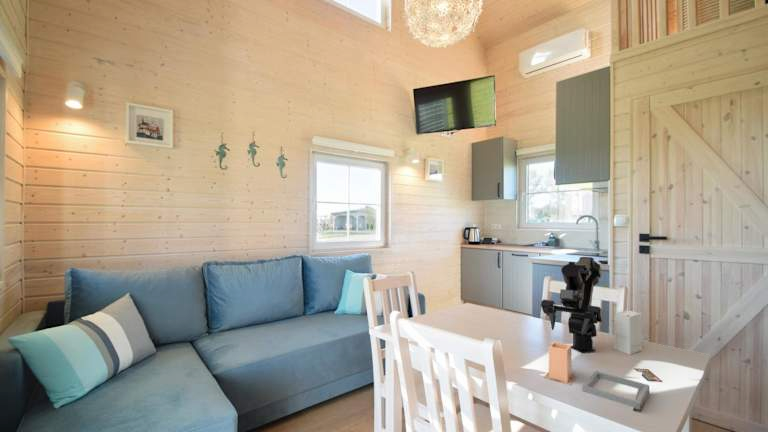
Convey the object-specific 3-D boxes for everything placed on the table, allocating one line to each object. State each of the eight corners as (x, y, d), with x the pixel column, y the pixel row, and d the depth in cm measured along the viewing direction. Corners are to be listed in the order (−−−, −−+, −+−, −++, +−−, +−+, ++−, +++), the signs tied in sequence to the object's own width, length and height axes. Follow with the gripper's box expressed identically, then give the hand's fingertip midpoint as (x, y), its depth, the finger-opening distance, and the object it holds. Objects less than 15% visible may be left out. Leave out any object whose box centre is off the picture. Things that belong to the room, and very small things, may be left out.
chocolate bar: (665, 384, 111) (665, 382, 111) (648, 383, 112) (648, 380, 112) (647, 369, 122) (647, 367, 122) (631, 368, 123) (631, 366, 123)
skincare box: (626, 346, 142) (626, 309, 142) (643, 351, 137) (642, 312, 137) (614, 350, 139) (613, 312, 139) (630, 355, 133) (629, 315, 133)
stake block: (543, 380, 114) (543, 365, 114) (550, 372, 120) (550, 357, 120) (571, 388, 109) (570, 372, 109) (577, 379, 115) (576, 363, 115)
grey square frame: (582, 394, 105) (582, 386, 105) (595, 378, 115) (595, 370, 115) (639, 412, 95) (639, 403, 95) (649, 393, 105) (649, 385, 105)
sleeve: (549, 377, 114) (548, 346, 114) (553, 371, 118) (553, 341, 118) (567, 382, 110) (567, 350, 110) (571, 376, 114) (571, 345, 114)
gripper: (541, 277, 130) (532, 314, 122) (600, 283, 118) (595, 324, 110) (548, 294, 136) (540, 331, 128) (604, 301, 124) (599, 342, 116)
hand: (566, 331), depth 120 cm, fingers open, 9 cm apart
